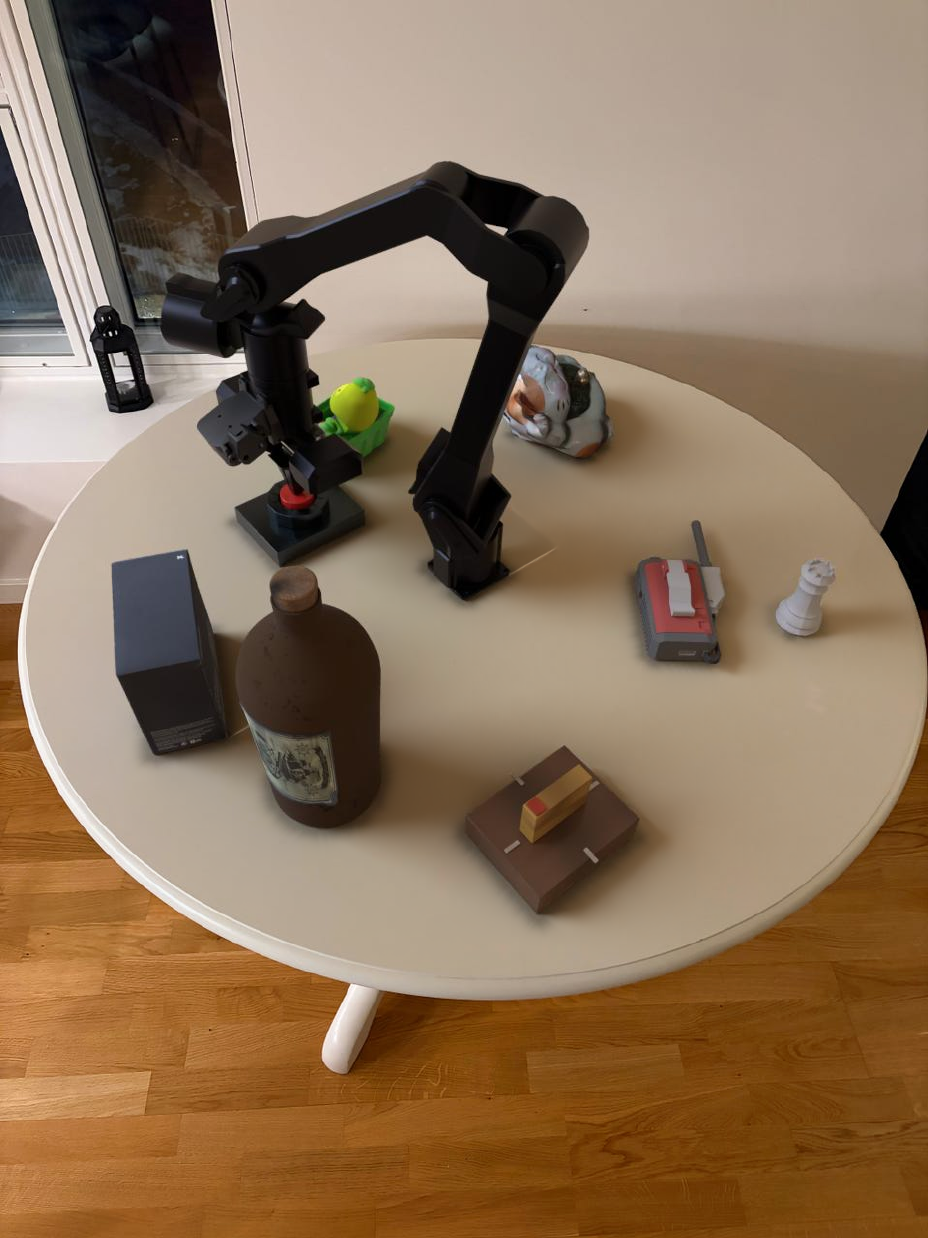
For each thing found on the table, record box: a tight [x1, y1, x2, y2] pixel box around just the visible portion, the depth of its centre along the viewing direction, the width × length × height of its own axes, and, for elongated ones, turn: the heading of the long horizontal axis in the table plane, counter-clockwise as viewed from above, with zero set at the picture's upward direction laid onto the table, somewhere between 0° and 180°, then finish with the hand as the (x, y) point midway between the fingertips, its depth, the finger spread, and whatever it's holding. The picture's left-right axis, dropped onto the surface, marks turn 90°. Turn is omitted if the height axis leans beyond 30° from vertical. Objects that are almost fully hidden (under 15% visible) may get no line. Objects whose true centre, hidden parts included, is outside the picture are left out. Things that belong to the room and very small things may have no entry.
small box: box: [110, 548, 229, 756], centre depth 80 cm, size 13×7×12 cm, turn 16°
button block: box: [233, 478, 366, 568], centre depth 98 cm, size 11×9×4 cm
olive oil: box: [235, 565, 382, 828], centre depth 69 cm, size 11×11×25 cm
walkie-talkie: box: [634, 519, 726, 666], centre depth 92 cm, size 9×4×20 cm
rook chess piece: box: [775, 557, 837, 637], centre depth 89 cm, size 4×4×8 cm
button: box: [280, 485, 315, 509], centre depth 97 cm, size 4×4×2 cm
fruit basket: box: [316, 376, 396, 458], centre depth 104 cm, size 11×9×11 cm
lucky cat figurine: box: [502, 344, 615, 459], centre depth 107 cm, size 15×12×14 cm
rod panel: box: [464, 744, 641, 915], centre depth 74 cm, size 11×10×3 cm
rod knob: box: [519, 764, 592, 843], centre depth 71 cm, size 6×2×4 cm, turn 129°
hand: (297, 492), depth 96 cm, fingers closed, pressing on button
